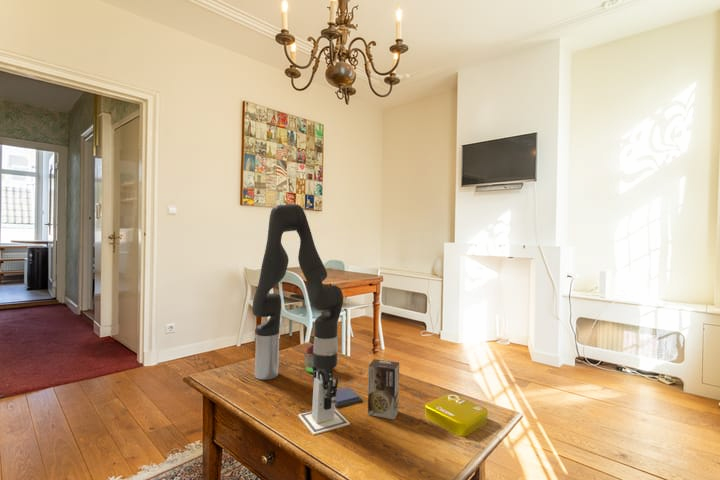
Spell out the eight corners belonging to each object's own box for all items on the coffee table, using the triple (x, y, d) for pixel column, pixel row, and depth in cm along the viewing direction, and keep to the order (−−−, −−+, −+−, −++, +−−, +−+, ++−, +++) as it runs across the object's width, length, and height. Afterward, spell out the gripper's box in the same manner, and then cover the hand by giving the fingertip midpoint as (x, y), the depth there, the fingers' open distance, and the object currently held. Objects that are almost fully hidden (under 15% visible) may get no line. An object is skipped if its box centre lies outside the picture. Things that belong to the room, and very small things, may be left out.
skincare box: (317, 423, 102) (319, 383, 103) (311, 417, 106) (312, 378, 106) (335, 419, 106) (337, 379, 106) (328, 412, 109) (330, 374, 110)
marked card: (298, 415, 108) (298, 414, 108) (332, 407, 114) (332, 405, 114) (313, 435, 97) (313, 433, 97) (349, 424, 104) (349, 422, 104)
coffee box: (398, 410, 113) (400, 362, 113) (394, 420, 107) (395, 369, 107) (372, 405, 116) (373, 358, 116) (366, 414, 110) (368, 364, 110)
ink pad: (323, 395, 122) (323, 391, 122) (348, 390, 127) (348, 385, 127) (336, 407, 114) (336, 403, 114) (361, 401, 119) (362, 396, 119)
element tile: (422, 417, 110) (422, 402, 110) (449, 404, 119) (450, 390, 119) (462, 439, 98) (463, 423, 98) (489, 422, 108) (490, 407, 108)
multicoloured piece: (303, 364, 152) (303, 330, 152) (331, 363, 153) (332, 330, 153) (301, 374, 140) (302, 338, 140) (332, 374, 142) (333, 338, 142)
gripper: (305, 345, 110) (303, 398, 110) (324, 359, 98) (322, 418, 98) (326, 342, 114) (324, 393, 114) (347, 355, 102) (345, 412, 102)
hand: (323, 404), depth 106 cm, fingers open, 5 cm apart
